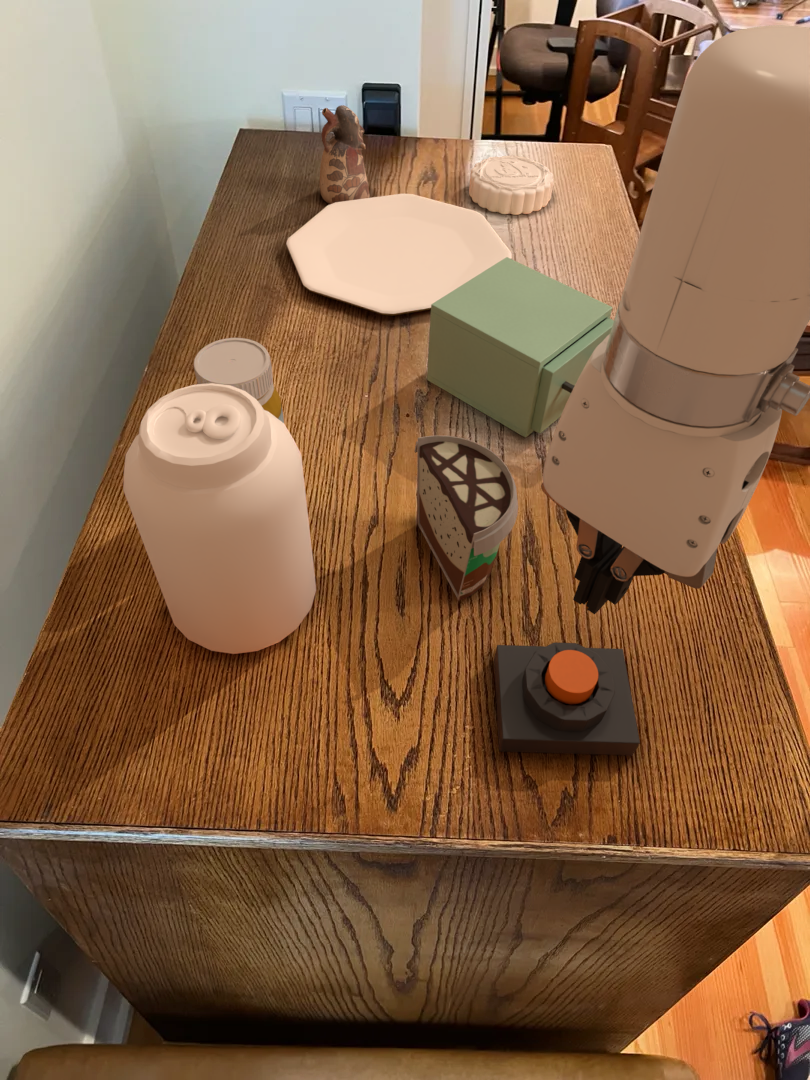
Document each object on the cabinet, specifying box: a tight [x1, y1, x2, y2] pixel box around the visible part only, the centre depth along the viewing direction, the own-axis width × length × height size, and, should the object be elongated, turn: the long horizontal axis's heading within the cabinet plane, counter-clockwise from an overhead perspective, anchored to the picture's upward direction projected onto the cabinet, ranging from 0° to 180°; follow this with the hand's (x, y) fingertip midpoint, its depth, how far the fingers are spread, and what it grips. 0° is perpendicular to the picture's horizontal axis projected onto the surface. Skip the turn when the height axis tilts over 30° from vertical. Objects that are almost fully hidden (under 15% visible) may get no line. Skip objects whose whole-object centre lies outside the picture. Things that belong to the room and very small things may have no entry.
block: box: [493, 642, 641, 757], centre depth 58 cm, size 10×8×4 cm
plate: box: [285, 192, 513, 317], centre depth 100 cm, size 28×28×2 cm
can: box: [122, 383, 317, 655], centre depth 58 cm, size 12×12×20 cm
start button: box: [545, 650, 598, 704], centre depth 56 cm, size 4×4×2 cm
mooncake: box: [468, 154, 555, 216], centre depth 111 cm, size 12×12×4 cm
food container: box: [414, 434, 519, 602], centre depth 66 cm, size 12×6×10 cm, turn 22°
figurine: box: [318, 104, 371, 205], centre depth 107 cm, size 7×7×12 cm
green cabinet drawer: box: [531, 317, 614, 435], centre depth 80 cm, size 17×11×8 cm
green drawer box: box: [426, 257, 613, 439], centre depth 81 cm, size 14×13×10 cm
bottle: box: [193, 337, 285, 424], centre depth 68 cm, size 7×7×15 cm
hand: (596, 593), depth 49 cm, fingers closed
